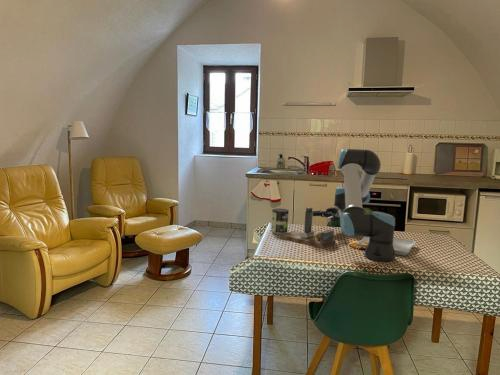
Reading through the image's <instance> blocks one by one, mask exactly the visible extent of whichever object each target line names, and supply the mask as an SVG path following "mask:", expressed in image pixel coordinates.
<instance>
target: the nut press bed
mask: <svg viewBox="0 0 500 375" xmlns="http://www.w3.org/2000/svg"><path fill="white" fill-rule="evenodd" d="M301 232H302V231H301ZM301 232H300V231H297V230H296V231H295V230H293V231H288V232H287V233H286V234H280V235H281V239H284V240H287V241H291V242H292V241H293V242H295V243H300V244H304V245H309V246H312V247H313V246H314V247H318V248H322V249H325V248H328V247H331V246H332V245H336V241H337V240H336V239H334V236H335V234H334V233H335V230H334V229H330V228H329V229H326V230H323V231H320V232H317V233H315V234H314V236H313V237H310V238H307V239H305V238H301Z"/></svg>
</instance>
